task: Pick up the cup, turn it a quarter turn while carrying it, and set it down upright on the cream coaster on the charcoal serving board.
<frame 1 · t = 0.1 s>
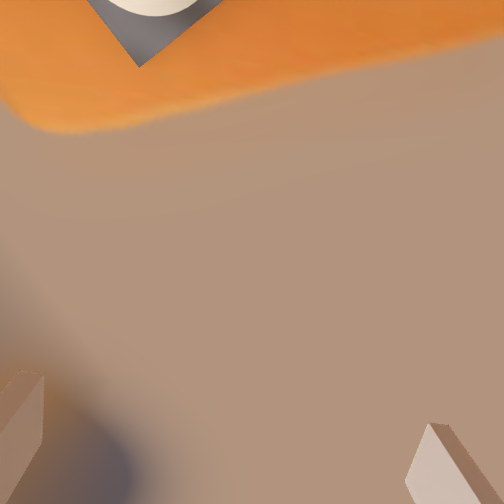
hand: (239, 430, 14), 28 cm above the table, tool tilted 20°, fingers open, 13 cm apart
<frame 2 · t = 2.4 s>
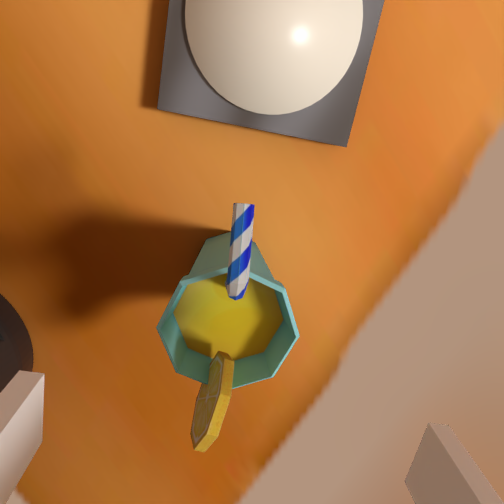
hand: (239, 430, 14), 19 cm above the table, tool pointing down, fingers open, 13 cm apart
cup: (230, 252, 31), on the table
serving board: (271, 26, 26), on the table
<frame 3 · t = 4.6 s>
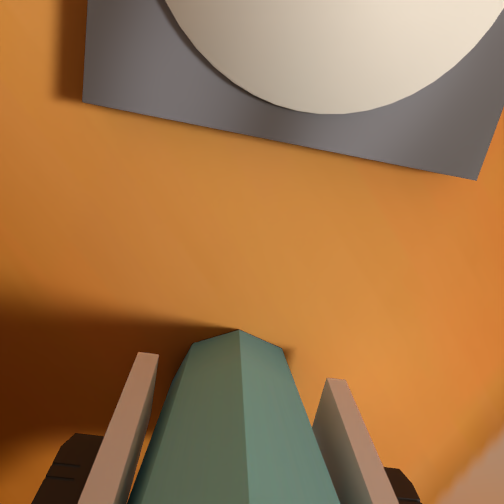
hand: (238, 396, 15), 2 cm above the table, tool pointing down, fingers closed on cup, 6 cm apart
cup: (235, 363, 17), on the table, touching gripper
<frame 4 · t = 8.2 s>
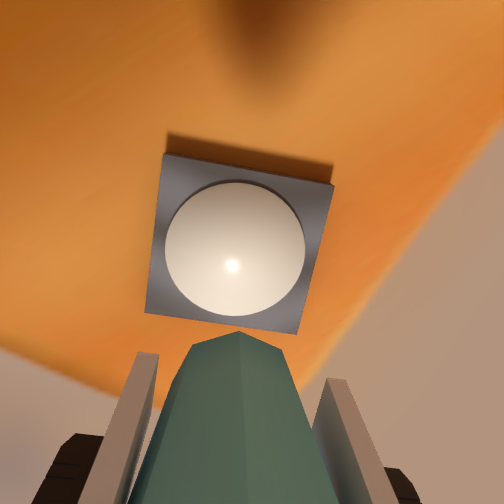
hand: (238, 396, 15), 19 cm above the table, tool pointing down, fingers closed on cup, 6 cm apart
cup: (235, 364, 17), point 17 cm above the table, touching gripper
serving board: (235, 246, 33), on the table
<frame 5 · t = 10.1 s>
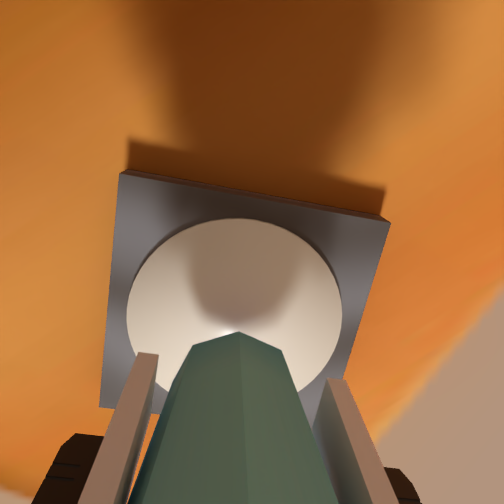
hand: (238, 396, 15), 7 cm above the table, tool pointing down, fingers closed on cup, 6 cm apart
cup: (235, 364, 17), point 5 cm above the table, touching gripper
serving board: (235, 307, 22), on the table
when the fingers open (5 cm above the table, at t = 11.4 s): cup drops 1 cm, resting on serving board.
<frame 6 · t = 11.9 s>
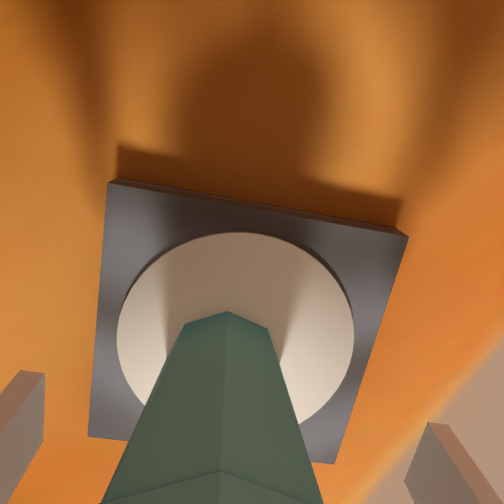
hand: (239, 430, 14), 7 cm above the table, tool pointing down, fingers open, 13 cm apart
cup: (225, 342, 19), point 2 cm above the table, touching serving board
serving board: (236, 327, 20), on the table
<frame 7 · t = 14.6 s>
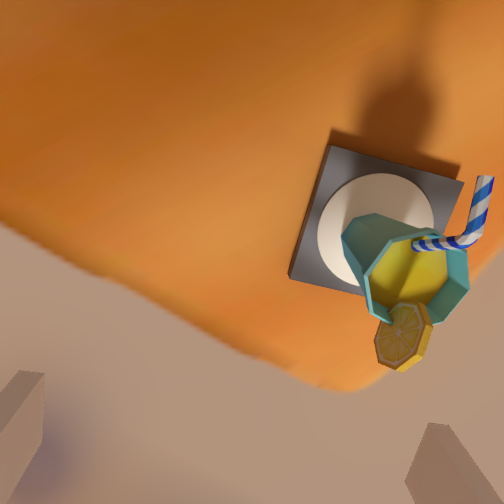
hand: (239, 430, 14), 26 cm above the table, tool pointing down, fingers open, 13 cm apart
cup: (369, 230, 37), point 2 cm above the table, touching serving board
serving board: (369, 228, 39), on the table
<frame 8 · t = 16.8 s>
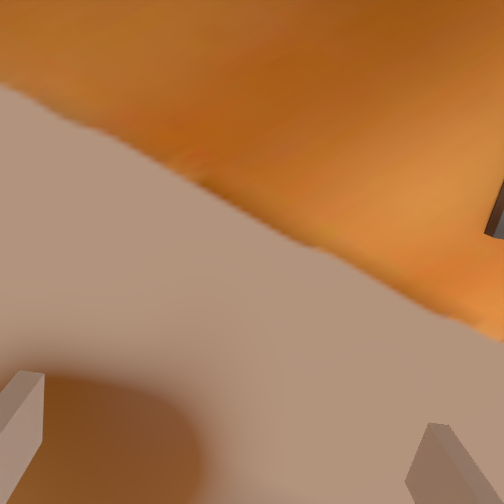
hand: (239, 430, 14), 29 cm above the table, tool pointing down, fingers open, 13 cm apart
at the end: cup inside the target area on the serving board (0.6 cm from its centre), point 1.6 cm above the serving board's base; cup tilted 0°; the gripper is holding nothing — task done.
